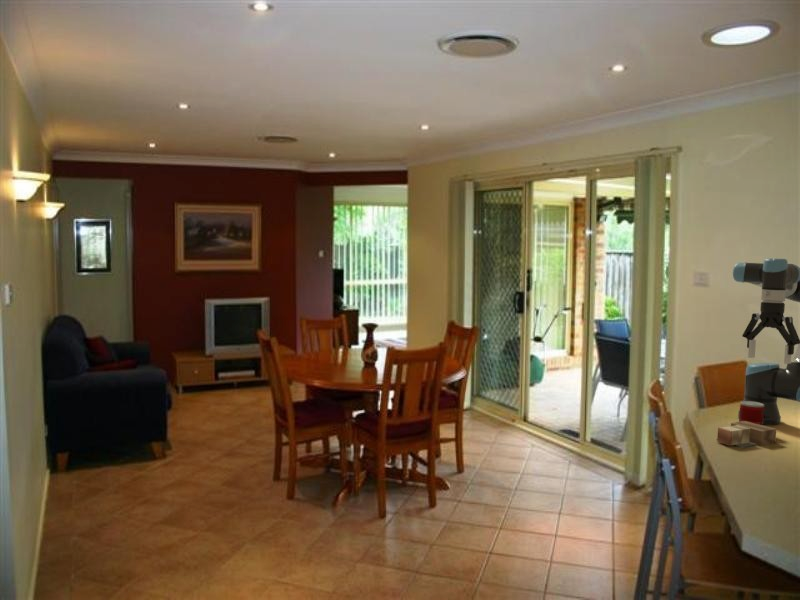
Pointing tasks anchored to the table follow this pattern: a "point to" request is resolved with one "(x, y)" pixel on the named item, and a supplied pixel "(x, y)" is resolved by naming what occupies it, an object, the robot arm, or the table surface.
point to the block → (733, 435)
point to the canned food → (751, 412)
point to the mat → (746, 444)
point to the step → (759, 432)
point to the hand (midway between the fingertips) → (769, 360)
